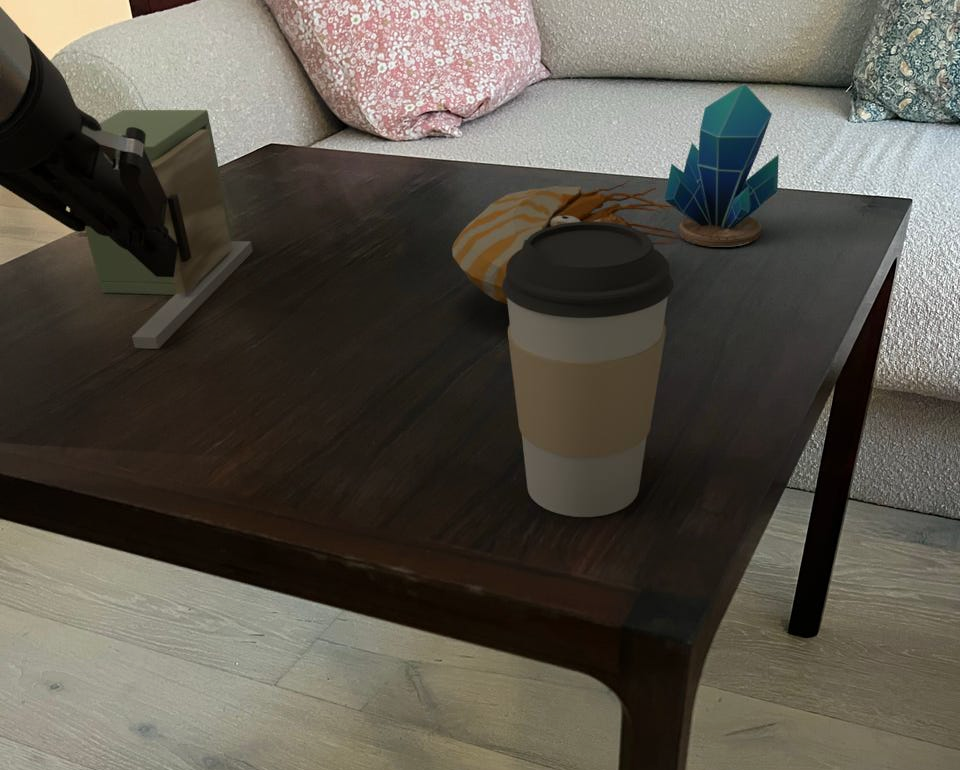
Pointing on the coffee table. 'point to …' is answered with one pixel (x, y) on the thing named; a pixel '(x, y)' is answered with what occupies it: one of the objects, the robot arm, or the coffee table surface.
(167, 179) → the sliding door
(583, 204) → the nautilus
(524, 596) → the coffee table surface
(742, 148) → the gemstone
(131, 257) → the cabinet
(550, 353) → the coffee cup
